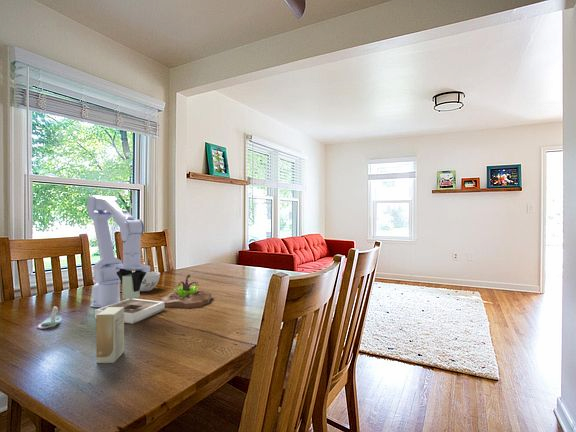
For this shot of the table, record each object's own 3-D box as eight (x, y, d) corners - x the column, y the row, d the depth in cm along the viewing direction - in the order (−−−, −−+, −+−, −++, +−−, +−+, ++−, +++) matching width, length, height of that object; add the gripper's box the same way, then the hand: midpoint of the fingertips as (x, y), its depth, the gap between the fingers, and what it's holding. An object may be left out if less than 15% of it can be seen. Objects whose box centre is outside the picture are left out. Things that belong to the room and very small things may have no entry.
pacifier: (34, 331, 99) (58, 328, 101) (33, 311, 99) (57, 308, 101) (41, 324, 105) (63, 321, 108) (40, 305, 105) (62, 302, 108)
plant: (217, 296, 142) (218, 271, 142) (201, 310, 123) (201, 281, 123) (174, 295, 145) (175, 270, 144) (152, 307, 125) (152, 279, 125)
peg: (122, 298, 114) (122, 276, 114) (130, 295, 118) (130, 274, 118) (131, 299, 113) (131, 276, 113) (139, 296, 117) (139, 274, 117)
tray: (94, 318, 111) (95, 309, 111) (129, 305, 126) (129, 298, 126) (133, 323, 106) (133, 314, 106) (164, 309, 121) (164, 301, 121)
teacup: (161, 291, 149) (161, 274, 149) (131, 294, 143) (131, 276, 143) (157, 284, 162) (157, 269, 162) (130, 287, 156) (130, 271, 156)
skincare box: (107, 352, 84) (107, 306, 84) (124, 352, 85) (125, 306, 85) (95, 364, 78) (95, 314, 78) (113, 363, 78) (113, 313, 78)
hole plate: (99, 315, 111) (99, 311, 111) (130, 304, 125) (130, 300, 125) (132, 319, 107) (132, 315, 107) (160, 308, 121) (160, 303, 121)
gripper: (106, 253, 114) (106, 291, 114) (140, 255, 110) (140, 294, 110) (122, 251, 121) (121, 287, 121) (154, 253, 117) (154, 290, 117)
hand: (131, 290), depth 116 cm, fingers closed on peg, 4 cm apart
